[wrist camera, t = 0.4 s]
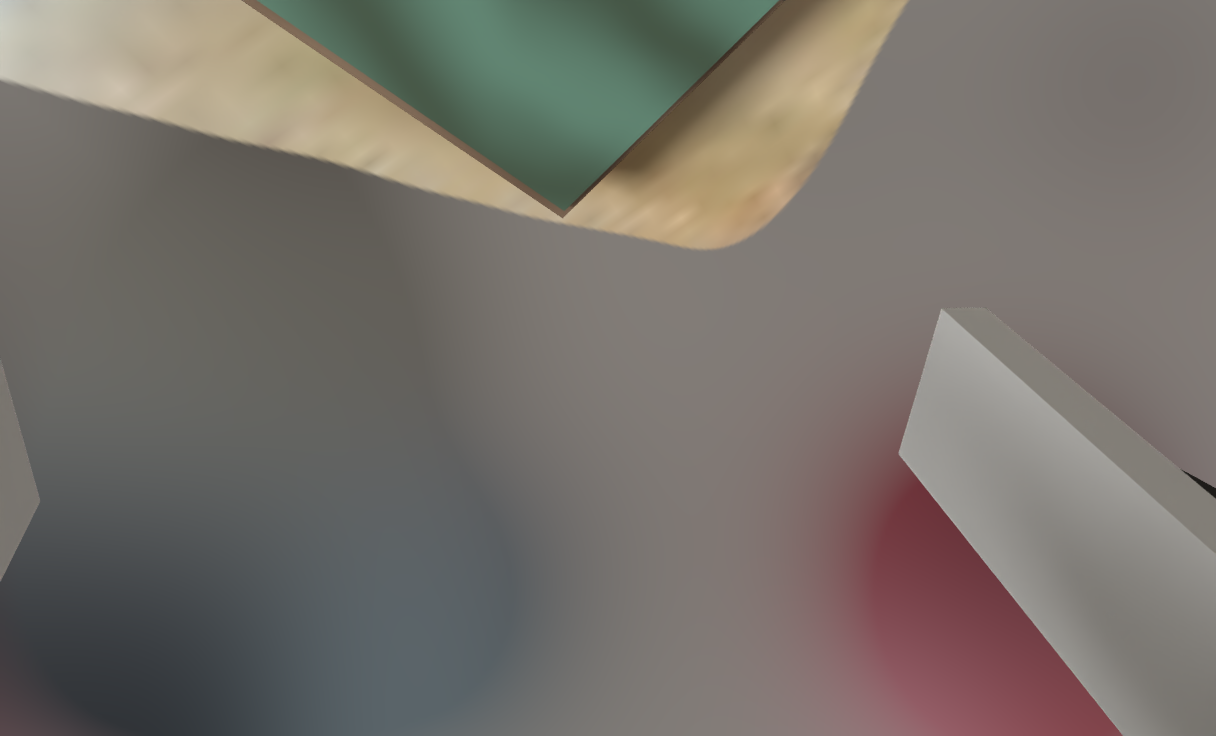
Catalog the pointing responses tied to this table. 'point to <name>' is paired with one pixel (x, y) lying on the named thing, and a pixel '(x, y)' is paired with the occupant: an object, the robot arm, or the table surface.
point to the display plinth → (529, 72)
